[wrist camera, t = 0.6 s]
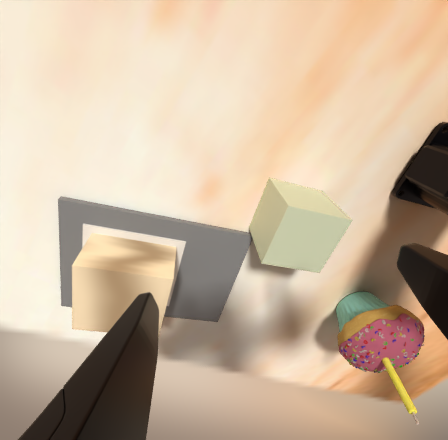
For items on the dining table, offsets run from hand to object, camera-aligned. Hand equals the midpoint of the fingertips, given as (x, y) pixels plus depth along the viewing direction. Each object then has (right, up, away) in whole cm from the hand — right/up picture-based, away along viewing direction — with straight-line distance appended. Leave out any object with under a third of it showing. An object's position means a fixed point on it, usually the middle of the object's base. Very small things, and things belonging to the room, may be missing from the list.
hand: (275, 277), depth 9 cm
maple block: (-10, -3, +14) cm, 18 cm away
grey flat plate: (-9, -3, +15) cm, 18 cm away
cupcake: (+14, -8, +21) cm, 27 cm away
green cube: (+4, +3, +13) cm, 14 cm away
